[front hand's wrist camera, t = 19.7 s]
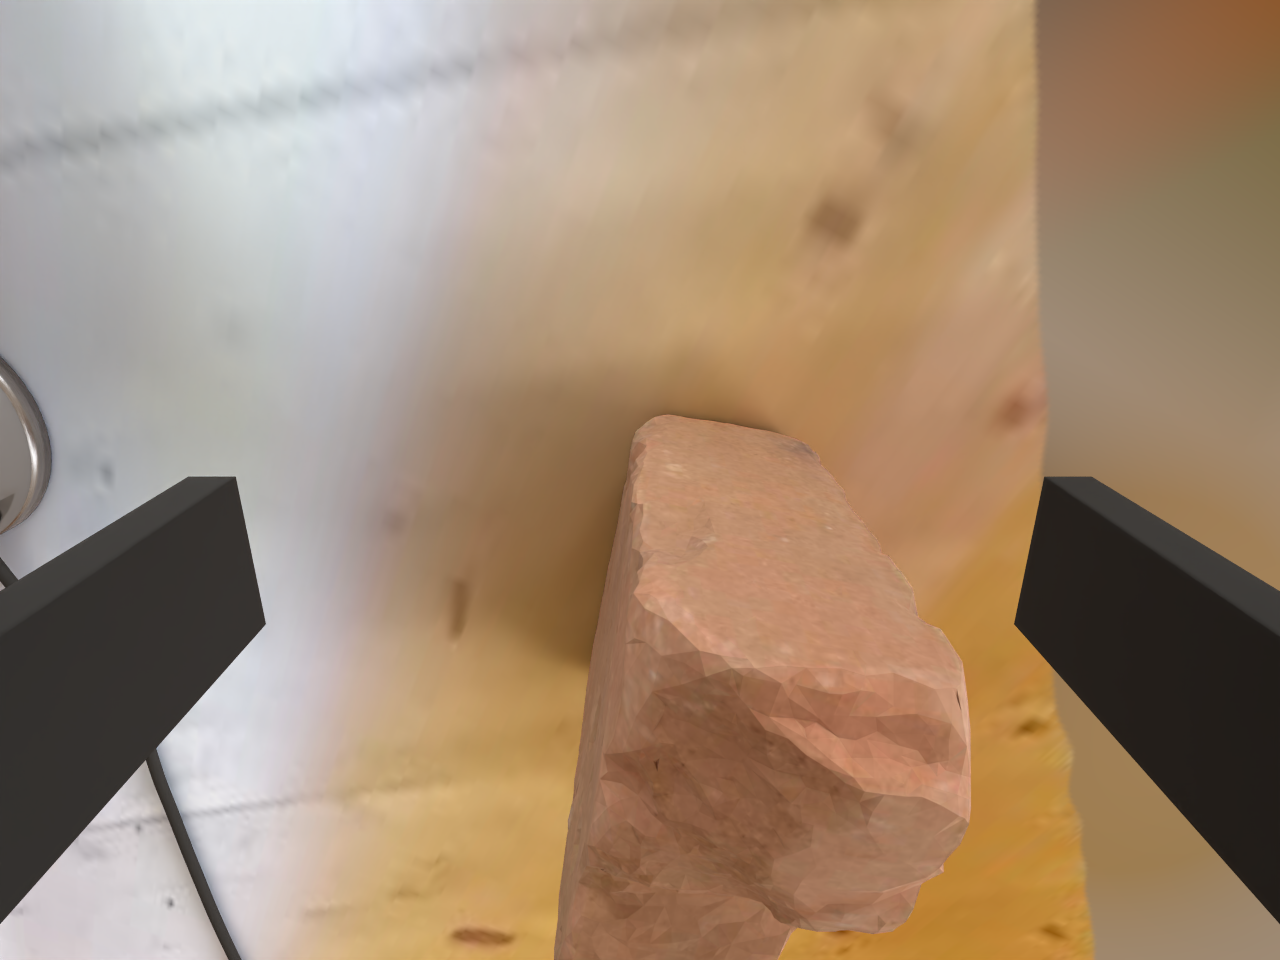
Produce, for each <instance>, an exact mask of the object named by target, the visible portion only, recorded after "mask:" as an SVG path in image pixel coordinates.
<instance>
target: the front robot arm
mask: <svg viewBox="0 0 1280 960" xmlns="http://www.w3.org/2000/svg"><path fill="white" fill-rule="evenodd" d="M50 473H51V448H50V441H49V437H48V432H47V429H46V426H45V423H44V420H43V417H42V415H41V413H40V410H39V408H38V406H37V404H36V402H35V401H34V399H33V397H32V395H31V394H30V392H29V391H28V389H27V388H26V386H25V385H24V383H23V382H22V381H21V379H20V378H19V377H18V375H17V374H16V373H15V372H14V371H13V369H12V368H11V367H10V366H9V365H8V364H7V363H6V362H5V361H4V360H3V359H2V358H1V357H0V534H2V533H4V532H6V531H8V530H10V529H12V528H14V527H15V526H17V525H18V524H20V523H21V522H23V521H24V520H25V519H26V518H27V517H29V516H30V515H31V513H32V512H33V511H34V510H35V509H36V508H37V506H38V505H39V503H40V502H41V500H42V498H43V496H44V494H45V492H46V489H47V486H48V483H49V478H50ZM0 581H1V583H2V584H3V585H4V586H5V589H3V590H2V591H0V924H1V922H2V921H3V920H4V919H5V918H6V917H7V916H8V915H9V913H10V912H11V911H12V910H13V909H14V908H15V907H16V906H17V904H18V903H19V902H20V901H21V900H22V899H23V898H24V897H25V895H26V894H27V893H28V892H29V891H30V890H31V889H32V887H33V886H34V885H35V884H36V883H37V882H38V881H39V880H40V878H41V877H42V876H43V875H44V874H45V873H46V872H47V871H48V869H49V868H50V867H51V866H52V865H53V864H54V863H55V862H56V860H57V859H58V858H59V857H60V856H61V855H62V854H63V853H64V851H65V850H66V849H67V848H68V847H69V846H70V845H71V843H72V842H73V841H74V840H75V839H76V838H77V837H78V836H79V834H80V833H81V832H82V831H83V830H84V829H85V828H86V827H87V825H88V824H89V823H90V822H91V821H92V820H93V819H94V818H95V816H96V815H97V814H98V813H99V812H100V811H101V810H102V808H103V807H104V806H105V805H106V804H107V803H108V802H109V801H110V799H111V798H112V797H113V796H114V795H115V794H116V793H117V792H118V790H119V789H120V788H121V787H122V786H123V785H124V784H125V783H126V781H127V780H128V779H129V778H130V777H131V776H132V775H133V773H134V772H135V771H136V770H137V769H138V768H139V767H140V766H141V764H142V763H143V762H144V761H145V760H146V762H147V765H148V768H149V771H150V774H151V777H152V780H153V782H154V785H155V788H156V790H157V793H158V795H159V798H160V800H161V802H162V805H163V807H164V810H165V812H166V815H167V817H168V820H169V822H170V825H171V827H172V830H173V833H174V835H175V838H176V840H177V843H178V845H179V848H180V850H181V853H182V855H183V858H184V860H185V862H186V865H187V867H188V870H189V872H190V875H191V877H192V879H193V882H194V884H195V887H196V889H197V891H198V894H199V896H200V899H201V901H202V903H203V906H204V908H205V910H206V913H207V915H208V917H209V919H210V922H211V924H212V926H213V928H214V930H215V932H216V935H217V937H218V939H219V941H220V943H221V945H222V947H223V949H224V951H225V953H226V955H227V957H228V960H241V958H240V956H239V954H238V952H237V950H236V947H235V945H234V943H233V941H232V939H231V937H230V935H229V933H228V931H227V928H226V926H225V924H224V922H223V920H222V917H221V915H220V913H219V911H218V908H217V906H216V904H215V901H214V899H213V896H212V894H211V891H210V889H209V887H208V884H207V882H206V879H205V877H204V874H203V872H202V869H201V867H200V864H199V862H198V860H197V857H196V855H195V852H194V850H193V847H192V844H191V842H190V839H189V837H188V834H187V832H186V829H185V826H184V824H183V821H182V819H181V816H180V813H179V811H178V808H177V806H176V803H175V801H174V798H173V796H172V793H171V791H170V788H169V786H168V783H167V781H166V778H165V775H164V772H163V769H162V766H161V763H160V760H159V756H158V753H157V750H156V748H157V746H158V745H159V744H160V743H161V742H162V741H163V740H164V739H165V737H166V736H167V735H168V734H169V733H170V732H171V731H172V729H173V728H174V727H175V726H176V725H177V724H178V723H179V722H180V720H181V719H182V718H183V717H184V716H185V715H186V714H187V713H188V711H189V710H190V709H191V708H192V707H193V706H194V705H195V704H196V702H197V701H198V700H199V699H200V698H201V697H202V696H203V694H204V693H205V692H206V691H207V690H208V689H209V688H210V687H211V685H212V684H213V683H214V682H215V681H216V680H217V679H218V678H219V676H220V675H221V674H222V673H223V672H224V671H225V670H226V669H227V667H228V666H229V665H230V664H231V663H232V662H233V661H234V659H235V658H236V657H237V656H238V655H239V654H240V653H241V652H242V650H243V649H244V648H245V647H246V646H247V645H248V644H249V643H250V641H251V640H252V639H253V638H254V637H255V636H256V635H257V634H258V632H259V631H260V630H261V629H262V628H263V627H264V626H265V624H266V623H265V618H264V613H263V608H262V603H261V598H260V593H259V588H258V584H257V579H256V574H255V569H254V564H253V559H252V554H251V549H250V545H249V540H248V535H247V530H246V525H245V520H244V515H243V510H242V506H241V501H240V496H239V491H238V486H237V481H236V477H187V478H186V479H184V480H182V481H181V482H179V483H177V484H176V485H174V486H172V487H171V488H169V489H167V490H166V491H164V492H163V493H161V494H159V495H158V496H156V497H154V498H153V499H151V500H149V501H148V502H146V503H144V504H143V505H141V506H140V507H138V508H136V509H135V510H133V511H131V512H130V513H128V514H126V515H125V516H123V517H121V518H120V519H118V520H117V521H115V522H113V523H112V524H110V525H108V526H107V527H105V528H103V529H102V530H100V531H98V532H97V533H95V534H94V535H92V536H90V537H89V538H87V539H85V540H84V541H82V542H80V543H79V544H77V545H75V546H74V547H72V548H71V549H69V550H67V551H66V552H64V553H62V554H61V555H59V556H57V557H56V558H54V559H52V560H51V561H49V562H48V563H46V564H44V565H43V566H41V567H39V568H38V569H36V570H34V571H33V572H31V573H29V574H28V575H26V576H25V577H23V578H21V579H20V580H18V579H17V578H16V577H15V576H14V574H13V573H12V572H11V570H10V569H9V568H8V567H7V565H6V564H5V563H4V562H3V560H2V559H1V558H0ZM1014 625H1015V626H1016V627H1017V628H1018V629H1019V630H1020V631H1021V632H1022V634H1023V635H1024V636H1025V637H1026V638H1027V639H1028V640H1029V641H1030V643H1031V644H1032V645H1033V646H1034V647H1035V648H1036V649H1037V650H1038V652H1039V653H1040V654H1041V655H1042V656H1043V657H1044V658H1045V659H1046V661H1047V662H1048V663H1049V664H1050V665H1051V666H1052V667H1053V669H1054V670H1055V671H1056V672H1057V673H1058V674H1059V675H1060V676H1061V678H1062V679H1063V680H1064V681H1065V682H1066V683H1067V684H1068V685H1069V687H1070V688H1071V689H1072V690H1073V691H1074V692H1075V693H1076V694H1077V696H1078V697H1079V698H1080V699H1081V700H1082V701H1083V702H1084V703H1085V705H1086V706H1087V707H1088V708H1089V709H1090V710H1091V711H1092V712H1093V714H1094V715H1095V716H1096V717H1097V718H1098V719H1099V720H1100V722H1101V723H1102V724H1103V725H1104V726H1105V727H1106V728H1107V729H1108V731H1109V732H1110V733H1111V734H1112V735H1113V736H1114V737H1115V739H1116V740H1117V741H1118V742H1119V743H1120V744H1121V745H1122V746H1123V748H1124V749H1125V750H1126V751H1127V752H1128V753H1129V754H1130V755H1131V757H1132V758H1133V759H1134V760H1135V761H1136V762H1137V763H1138V764H1139V765H1140V767H1141V768H1142V769H1143V770H1144V771H1145V772H1146V773H1147V775H1148V776H1149V777H1150V778H1151V779H1152V780H1153V781H1154V782H1155V784H1156V785H1157V786H1158V787H1159V788H1160V789H1161V790H1162V791H1163V793H1164V794H1165V795H1166V796H1167V797H1168V798H1169V799H1170V801H1171V802H1172V803H1173V804H1174V805H1175V806H1176V807H1177V808H1178V810H1179V811H1180V812H1181V813H1182V814H1183V815H1184V816H1185V817H1186V819H1187V820H1188V821H1189V822H1190V823H1191V824H1192V825H1193V827H1194V828H1195V829H1196V830H1197V831H1198V832H1199V833H1200V834H1201V836H1202V837H1203V838H1204V839H1205V840H1206V841H1207V842H1208V843H1209V845H1210V846H1211V847H1212V848H1213V849H1214V850H1215V851H1216V852H1217V854H1218V855H1219V856H1220V857H1221V858H1222V859H1223V860H1224V861H1225V863H1226V864H1227V865H1228V866H1229V867H1230V868H1231V869H1232V871H1233V872H1234V873H1235V874H1236V875H1237V876H1238V877H1239V878H1240V880H1241V881H1242V882H1243V883H1244V884H1245V885H1246V886H1247V887H1248V889H1249V890H1250V891H1251V892H1252V893H1253V894H1254V895H1255V897H1256V898H1257V899H1258V900H1259V901H1260V902H1261V903H1262V904H1263V906H1264V907H1265V908H1266V909H1267V910H1268V911H1269V912H1270V913H1271V915H1272V916H1273V917H1274V918H1275V919H1276V920H1277V921H1278V922H1279V924H1280V591H1278V590H1277V589H1275V588H1274V587H1272V586H1270V585H1269V584H1267V583H1265V582H1264V581H1262V580H1260V579H1259V578H1257V577H1255V576H1254V575H1252V574H1251V573H1249V572H1247V571H1246V570H1244V569H1242V568H1241V567H1239V566H1237V565H1236V564H1234V563H1232V562H1231V561H1229V560H1227V559H1226V558H1224V557H1223V556H1221V555H1219V554H1218V553H1216V552H1214V551H1213V550H1211V549H1209V548H1208V547H1206V546H1205V545H1203V544H1201V543H1200V542H1198V541H1196V540H1195V539H1193V538H1191V537H1190V536H1188V535H1186V534H1185V533H1183V532H1182V531H1180V530H1178V529H1177V528H1175V527H1173V526H1172V525H1170V524H1168V523H1167V522H1165V521H1163V520H1162V519H1160V518H1159V517H1157V516H1155V515H1154V514H1152V513H1150V512H1149V511H1147V510H1145V509H1144V508H1142V507H1140V506H1139V505H1137V504H1136V503H1134V502H1132V501H1131V500H1129V499H1127V498H1126V497H1124V496H1122V495H1121V494H1119V493H1117V492H1116V491H1114V490H1113V489H1111V488H1109V487H1108V486H1106V485H1104V484H1103V483H1101V482H1099V481H1098V480H1096V479H1094V478H1093V477H1044V481H1043V486H1042V491H1041V496H1040V501H1039V505H1038V510H1037V515H1036V520H1035V525H1034V530H1033V535H1032V540H1031V544H1030V549H1029V554H1028V559H1027V564H1026V569H1025V574H1024V579H1023V583H1022V588H1021V593H1020V598H1019V603H1018V608H1017V613H1016V618H1015V623H1014Z"/></svg>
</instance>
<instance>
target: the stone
mask: <svg viewBox="0 0 1280 960" xmlns="http://www.w3.org/2000/svg"><path fill="white" fill-rule="evenodd" d="M970 810H971V748H970V722H969V710H968V699H967V692H966V684H965V677H964V670H963V663H962V661H961V659H960V657H959V656H958V654H957V653H956V651H955V650H954V648H953V647H952V645H951V643H950V642H949V640H948V639H947V637H946V636H945V634H944V633H943V632H942V630H941V629H940V628H937V627H935V626H932V625H930V624H927V623H926V622H925V621H923V620H922V619H921V618H919V617H918V613H917V608H916V603H915V598H914V592H913V588H912V586H911V585H910V583H909V582H908V580H907V579H906V577H905V576H904V575H903V573H902V572H901V571H900V570H899V569H898V568H897V567H896V565H895V564H894V562H893V561H892V559H891V558H890V557H889V556H888V555H885V554H882V551H881V546H880V544H879V541H878V539H877V538H876V537H875V536H874V535H873V534H872V533H871V532H870V530H869V529H868V528H867V526H866V525H865V523H864V522H863V521H862V519H861V518H860V517H859V516H858V515H857V514H856V513H855V512H854V511H853V509H852V508H851V506H850V504H849V503H848V501H847V499H846V496H845V490H844V489H843V488H842V487H840V486H839V485H838V483H837V482H836V480H835V479H834V477H833V476H832V475H831V474H830V473H829V472H828V471H827V469H825V468H824V467H823V466H822V465H821V461H820V457H819V455H818V454H817V453H816V452H814V451H813V450H812V449H811V448H810V446H809V445H808V444H806V443H804V442H802V441H800V440H798V439H796V438H792V437H789V436H785V435H782V434H779V433H775V432H771V431H767V430H760V429H754V428H749V427H744V426H739V425H734V424H729V423H721V422H716V421H710V420H700V419H692V418H686V417H682V416H676V415H668V414H667V415H661V416H656V417H653V418H652V419H651V420H649V421H648V422H646V423H645V424H644V425H642V426H641V427H640V428H639V429H638V430H636V431H635V434H634V438H633V441H632V444H631V448H630V456H629V465H628V472H627V479H626V483H625V485H624V489H623V495H622V500H621V506H620V512H619V518H618V523H617V529H616V533H615V538H614V542H613V547H612V552H611V557H610V561H609V565H608V570H607V576H606V581H605V587H604V593H603V597H602V602H601V606H600V612H599V619H598V624H597V629H596V634H595V638H594V643H593V649H592V655H591V662H590V669H589V676H588V682H587V689H586V698H585V707H584V716H583V724H582V733H581V740H580V746H579V757H578V762H577V768H576V774H575V780H574V795H573V802H572V806H571V810H570V814H569V819H568V834H567V840H566V848H565V856H564V864H563V871H562V878H561V885H560V892H559V908H558V923H557V931H556V939H555V947H554V960H778V958H779V956H780V954H781V952H782V950H783V948H784V946H785V944H786V942H787V940H788V939H789V937H790V935H791V933H792V932H793V931H794V930H795V929H796V928H802V929H807V930H812V931H817V932H835V931H838V930H851V931H858V932H864V933H870V934H877V933H884V932H892V931H894V930H895V929H896V928H897V927H898V926H900V925H902V924H903V923H905V922H906V920H907V919H908V917H909V916H910V914H911V913H912V911H913V908H914V905H915V902H916V899H917V896H918V893H919V890H920V887H921V884H922V883H924V882H925V881H927V880H929V879H931V878H933V877H935V876H937V875H939V874H941V873H943V872H944V870H943V863H944V862H945V861H946V859H947V858H948V857H949V856H950V855H951V854H952V852H953V851H954V850H955V849H956V848H957V847H958V846H959V845H960V843H961V841H962V839H963V837H964V834H965V832H966V830H967V827H968V825H969V819H970Z"/></svg>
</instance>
